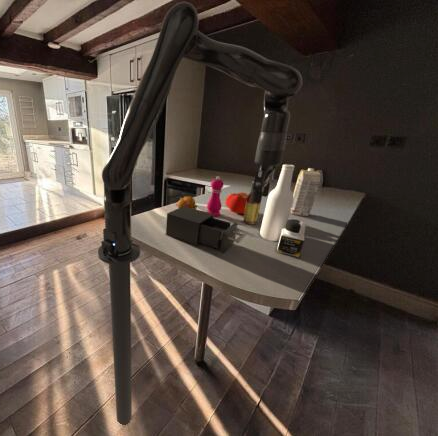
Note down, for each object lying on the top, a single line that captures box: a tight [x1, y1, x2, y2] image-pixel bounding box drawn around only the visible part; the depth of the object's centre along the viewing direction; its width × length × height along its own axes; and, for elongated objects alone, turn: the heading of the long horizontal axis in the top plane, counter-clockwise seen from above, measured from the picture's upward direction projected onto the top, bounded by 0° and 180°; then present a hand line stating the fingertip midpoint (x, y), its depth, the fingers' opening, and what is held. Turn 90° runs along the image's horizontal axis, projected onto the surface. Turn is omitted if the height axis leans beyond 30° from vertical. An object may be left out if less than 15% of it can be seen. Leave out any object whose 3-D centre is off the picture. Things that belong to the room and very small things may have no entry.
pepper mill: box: [206, 175, 224, 217], centre depth 117 cm, size 7×7×20 cm
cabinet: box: [165, 206, 215, 247], centre depth 96 cm, size 15×13×10 cm
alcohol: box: [259, 163, 296, 242], centre depth 92 cm, size 9×9×30 cm
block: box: [212, 226, 225, 243], centre depth 89 cm, size 4×4×4 cm
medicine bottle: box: [276, 218, 307, 258], centre depth 85 cm, size 7×7×12 cm
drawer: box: [198, 217, 247, 253], centre depth 89 cm, size 18×11×8 cm, turn 50°
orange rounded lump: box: [176, 195, 199, 210], centre depth 120 cm, size 10×11×10 cm
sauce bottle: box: [243, 180, 262, 225], centre depth 108 cm, size 7×6×20 cm
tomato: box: [225, 192, 250, 215], centre depth 123 cm, size 14×16×10 cm
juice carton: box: [290, 167, 322, 217], centre depth 120 cm, size 9×8×24 cm
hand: (260, 199), depth 76 cm, fingers open, 8 cm apart
